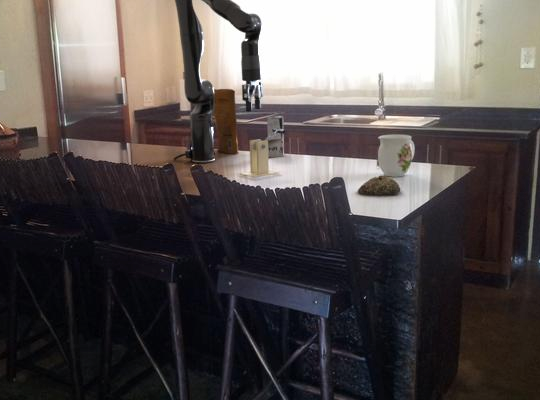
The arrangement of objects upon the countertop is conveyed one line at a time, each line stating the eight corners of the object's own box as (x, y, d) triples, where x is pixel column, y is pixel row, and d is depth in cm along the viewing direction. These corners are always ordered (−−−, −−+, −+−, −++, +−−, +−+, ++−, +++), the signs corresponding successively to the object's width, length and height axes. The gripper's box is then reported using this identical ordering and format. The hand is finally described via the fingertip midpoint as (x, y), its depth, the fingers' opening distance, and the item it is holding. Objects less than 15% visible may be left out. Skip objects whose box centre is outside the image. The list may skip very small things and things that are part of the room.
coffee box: (283, 157, 264) (282, 118, 260) (267, 157, 266) (266, 118, 262) (284, 153, 273) (283, 115, 269) (269, 153, 274) (268, 115, 270)
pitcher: (426, 172, 220) (427, 132, 217) (392, 180, 211) (393, 139, 207) (400, 168, 229) (401, 130, 226) (366, 176, 220) (366, 136, 216)
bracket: (264, 171, 237) (263, 137, 234) (279, 175, 229) (278, 140, 226) (239, 176, 231) (238, 141, 228) (254, 180, 224) (253, 143, 221)
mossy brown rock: (399, 197, 189) (399, 180, 188) (356, 195, 194) (356, 179, 193) (402, 187, 201) (402, 172, 199) (361, 186, 205) (362, 171, 204)
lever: (275, 132, 234) (273, 126, 233) (286, 133, 229) (283, 128, 228) (252, 149, 230) (249, 144, 229) (262, 151, 225) (259, 145, 224)
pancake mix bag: (230, 155, 274) (228, 89, 268) (209, 150, 291) (206, 88, 284) (244, 153, 277) (241, 88, 271) (222, 148, 294) (219, 87, 287)
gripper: (249, 67, 252) (252, 108, 255) (234, 69, 240) (237, 112, 243) (267, 66, 248) (269, 108, 252) (252, 68, 236) (255, 112, 240)
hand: (253, 110), depth 247 cm, fingers open, 8 cm apart
